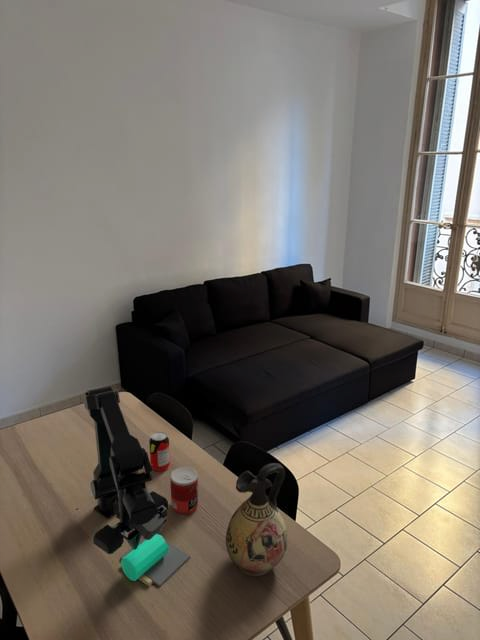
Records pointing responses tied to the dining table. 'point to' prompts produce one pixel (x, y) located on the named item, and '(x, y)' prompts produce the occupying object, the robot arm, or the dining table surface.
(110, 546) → the robot arm
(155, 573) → the mat
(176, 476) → the canned food
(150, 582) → the strip
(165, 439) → the beverage can
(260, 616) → the dining table surface
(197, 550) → the dining table surface
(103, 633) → the dining table surface
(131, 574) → the candle
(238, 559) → the ceramic jug
